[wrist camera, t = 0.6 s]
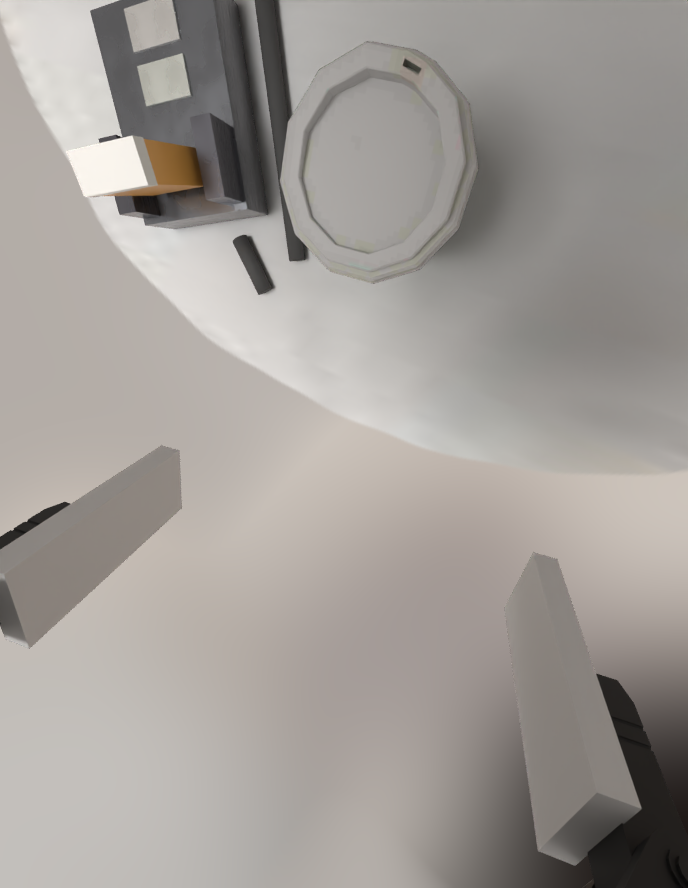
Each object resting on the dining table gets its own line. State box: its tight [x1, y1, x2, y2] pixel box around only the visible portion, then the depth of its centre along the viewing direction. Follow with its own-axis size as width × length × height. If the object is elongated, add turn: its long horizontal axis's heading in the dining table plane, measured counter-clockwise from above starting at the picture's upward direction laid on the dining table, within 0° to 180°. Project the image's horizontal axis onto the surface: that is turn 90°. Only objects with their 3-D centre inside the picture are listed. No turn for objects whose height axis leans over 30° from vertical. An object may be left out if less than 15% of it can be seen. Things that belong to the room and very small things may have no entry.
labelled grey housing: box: [90, 0, 268, 229], centre depth 31 cm, size 14×10×7 cm
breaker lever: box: [66, 135, 203, 197], centre depth 28 cm, size 2×6×8 cm, turn 96°
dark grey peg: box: [233, 235, 272, 295], centre depth 37 cm, size 5×1×1 cm, turn 26°
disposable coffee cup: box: [280, 41, 479, 284], centre depth 26 cm, size 11×11×15 cm
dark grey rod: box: [255, 0, 305, 261], centre depth 32 cm, size 19×1×1 cm, turn 5°
